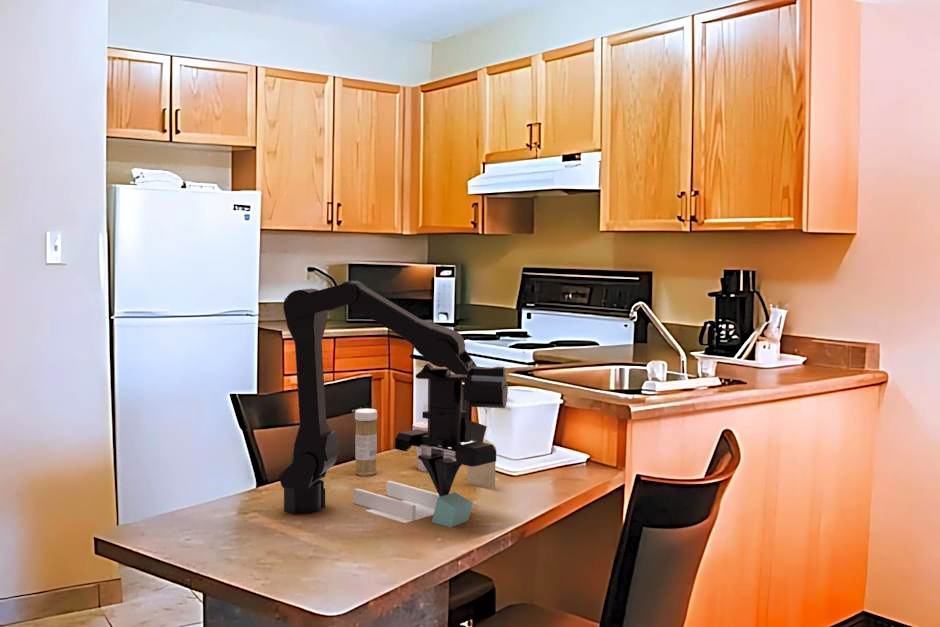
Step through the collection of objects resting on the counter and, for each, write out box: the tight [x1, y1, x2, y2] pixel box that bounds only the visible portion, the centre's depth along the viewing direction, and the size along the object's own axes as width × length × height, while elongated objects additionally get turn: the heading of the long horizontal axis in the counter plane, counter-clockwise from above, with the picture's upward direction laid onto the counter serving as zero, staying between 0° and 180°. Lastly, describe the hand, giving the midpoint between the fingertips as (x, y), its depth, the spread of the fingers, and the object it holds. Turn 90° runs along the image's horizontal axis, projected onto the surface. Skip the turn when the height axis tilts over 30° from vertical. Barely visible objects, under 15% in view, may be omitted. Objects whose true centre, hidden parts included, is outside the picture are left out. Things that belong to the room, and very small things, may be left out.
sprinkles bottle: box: [354, 408, 378, 477], centre depth 190 cm, size 5×5×13 cm
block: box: [431, 492, 473, 528], centre depth 153 cm, size 4×5×4 cm
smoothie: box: [412, 403, 428, 472], centre depth 194 cm, size 6×6×14 cm
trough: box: [353, 480, 440, 524], centre depth 161 cm, size 12×15×4 cm
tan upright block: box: [466, 438, 497, 492], centre depth 179 cm, size 6×6×10 cm
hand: (443, 497), depth 154 cm, fingers closed
